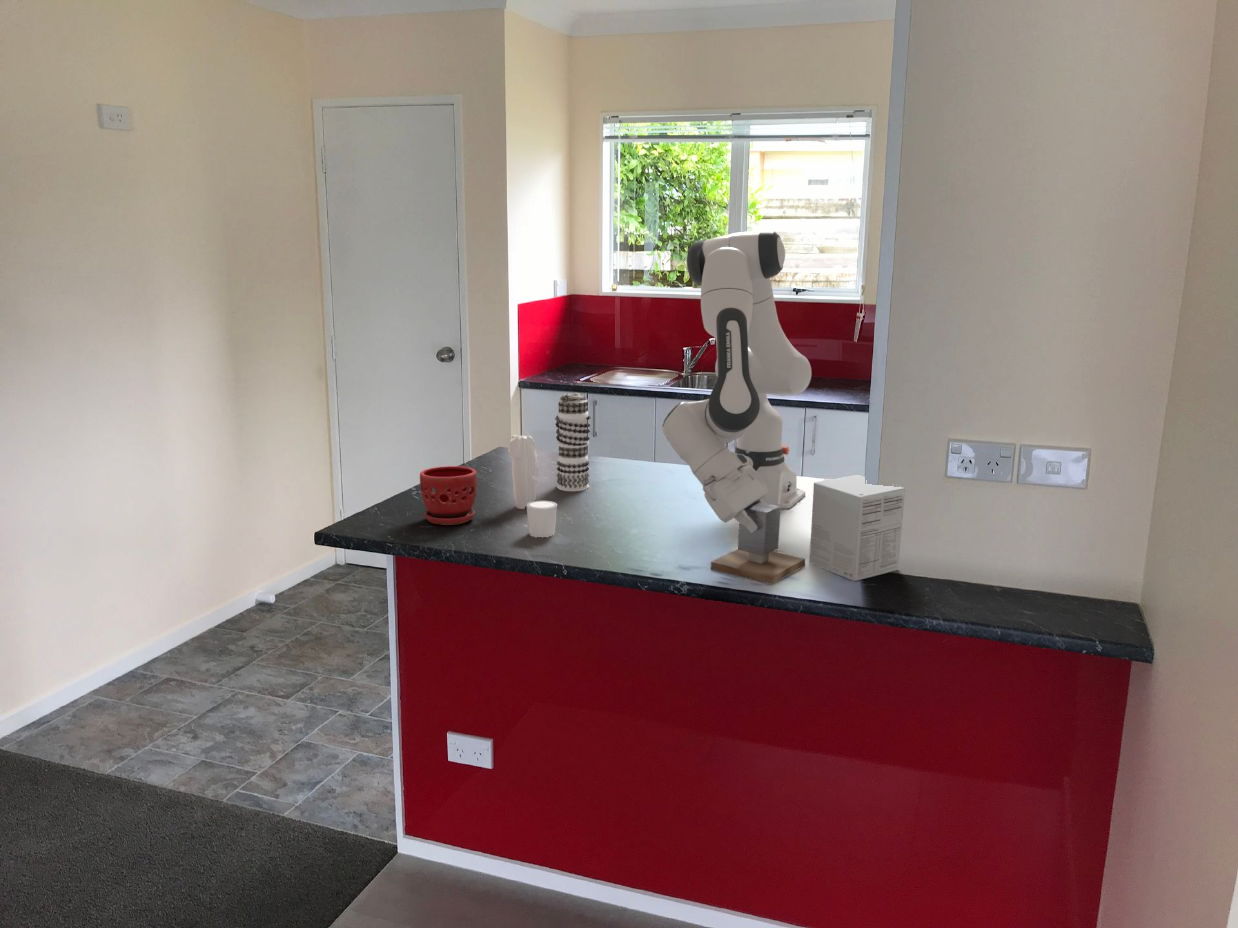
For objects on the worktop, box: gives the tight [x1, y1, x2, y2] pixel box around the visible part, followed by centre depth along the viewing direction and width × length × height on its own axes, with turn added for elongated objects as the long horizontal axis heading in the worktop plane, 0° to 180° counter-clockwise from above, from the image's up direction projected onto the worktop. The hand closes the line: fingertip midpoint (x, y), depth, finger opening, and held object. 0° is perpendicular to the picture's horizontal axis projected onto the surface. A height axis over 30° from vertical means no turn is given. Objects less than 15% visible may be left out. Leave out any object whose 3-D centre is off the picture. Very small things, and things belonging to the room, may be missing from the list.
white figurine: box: [507, 434, 540, 510], centre depth 238 cm, size 7×18×7 cm
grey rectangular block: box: [737, 501, 782, 556], centre depth 197 cm, size 6×6×9 cm
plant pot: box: [419, 465, 478, 526], centre depth 228 cm, size 13×13×12 cm
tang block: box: [710, 548, 806, 585], centre depth 199 cm, size 14×14×6 cm
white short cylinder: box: [526, 500, 558, 539], centre depth 219 cm, size 7×7×7 cm
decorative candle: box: [554, 392, 592, 492], centre depth 256 cm, size 9×9×25 cm
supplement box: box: [808, 474, 906, 582], centre depth 198 cm, size 13×13×18 cm
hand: (762, 525), depth 197 cm, fingers closed on grey rectangular block, 6 cm apart
